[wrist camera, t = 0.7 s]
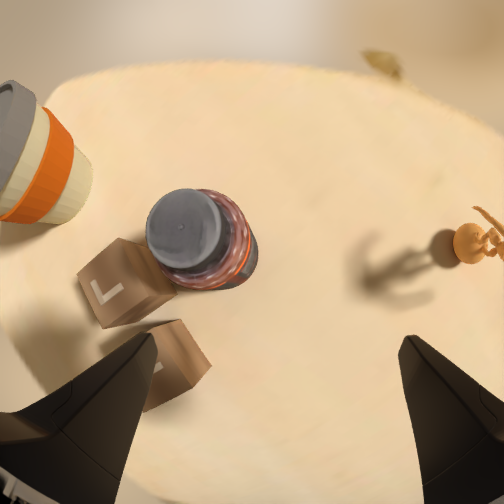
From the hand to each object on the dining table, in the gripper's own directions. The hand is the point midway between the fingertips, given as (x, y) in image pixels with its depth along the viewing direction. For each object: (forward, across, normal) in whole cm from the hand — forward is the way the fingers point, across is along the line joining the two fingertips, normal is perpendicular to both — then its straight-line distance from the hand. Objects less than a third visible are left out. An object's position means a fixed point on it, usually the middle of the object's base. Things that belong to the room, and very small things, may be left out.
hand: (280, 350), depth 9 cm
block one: (+10, +9, +12) cm, 18 cm away
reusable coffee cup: (+19, +25, -3) cm, 31 cm away
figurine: (+15, -18, +4) cm, 24 cm away
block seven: (+13, +12, +6) cm, 19 cm away
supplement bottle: (+15, +5, +4) cm, 16 cm away
